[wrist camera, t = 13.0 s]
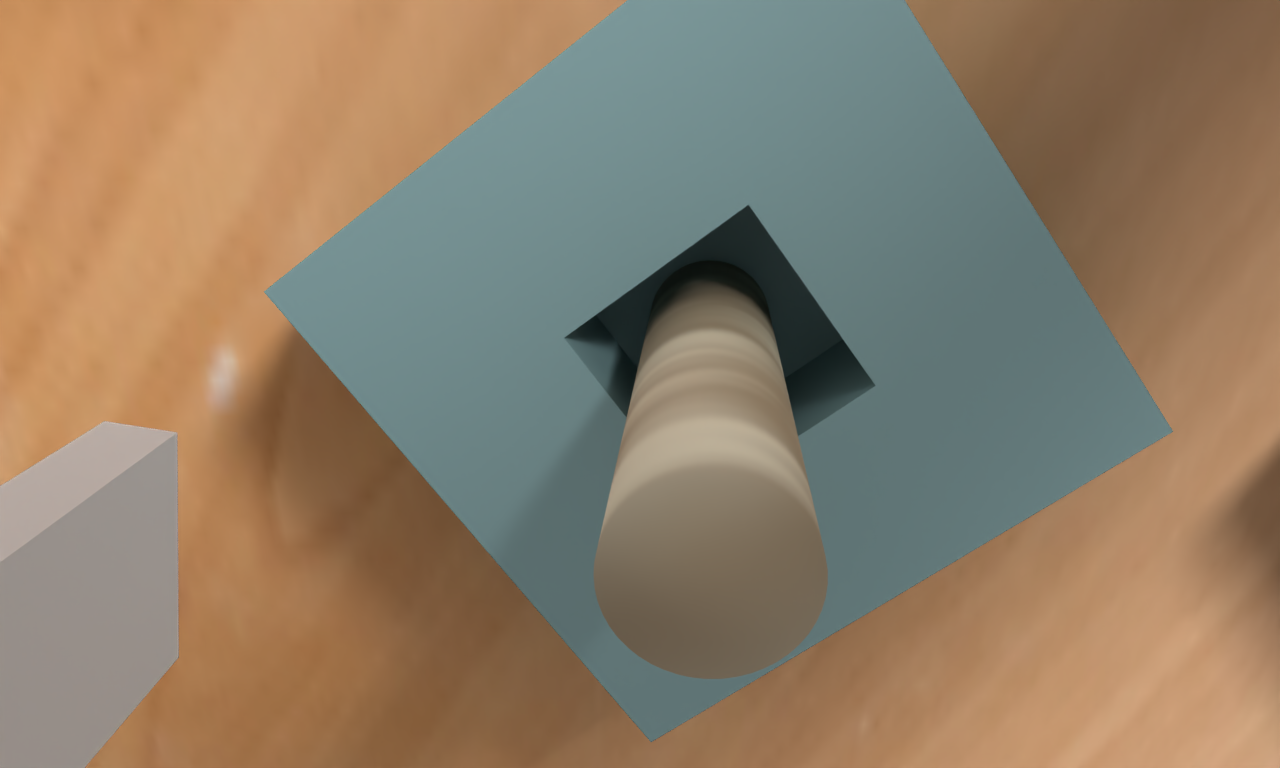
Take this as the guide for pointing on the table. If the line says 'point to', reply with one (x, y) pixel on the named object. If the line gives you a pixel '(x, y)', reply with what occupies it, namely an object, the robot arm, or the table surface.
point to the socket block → (774, 257)
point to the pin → (710, 490)
